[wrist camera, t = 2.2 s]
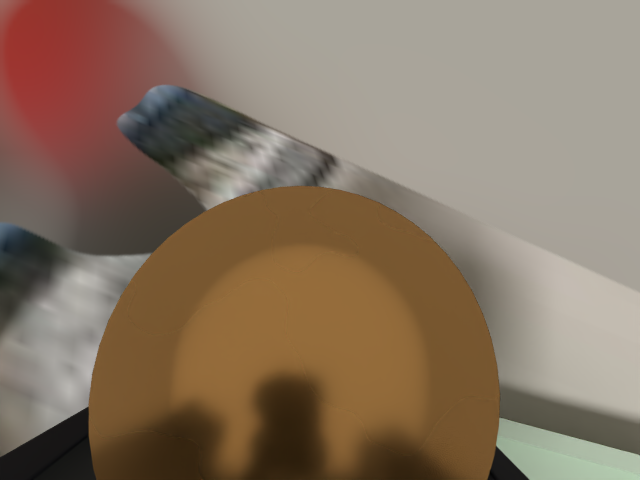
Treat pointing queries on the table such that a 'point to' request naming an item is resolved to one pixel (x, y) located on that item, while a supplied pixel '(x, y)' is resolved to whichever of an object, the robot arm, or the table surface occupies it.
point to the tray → (563, 455)
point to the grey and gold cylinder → (296, 351)
